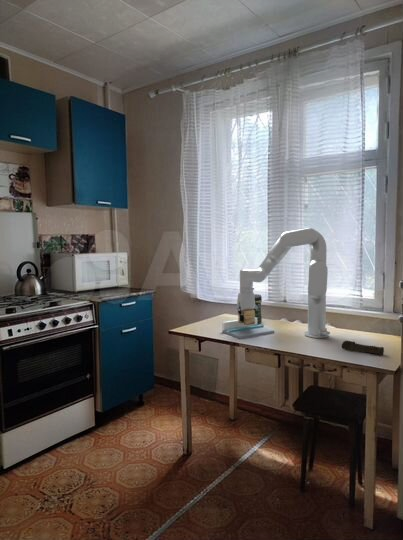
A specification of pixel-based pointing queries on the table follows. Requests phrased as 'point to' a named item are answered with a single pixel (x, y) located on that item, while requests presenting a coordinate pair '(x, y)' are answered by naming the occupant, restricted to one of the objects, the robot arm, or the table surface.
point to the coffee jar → (258, 311)
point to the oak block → (248, 317)
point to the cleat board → (244, 329)
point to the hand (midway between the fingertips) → (246, 320)
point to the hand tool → (362, 348)
